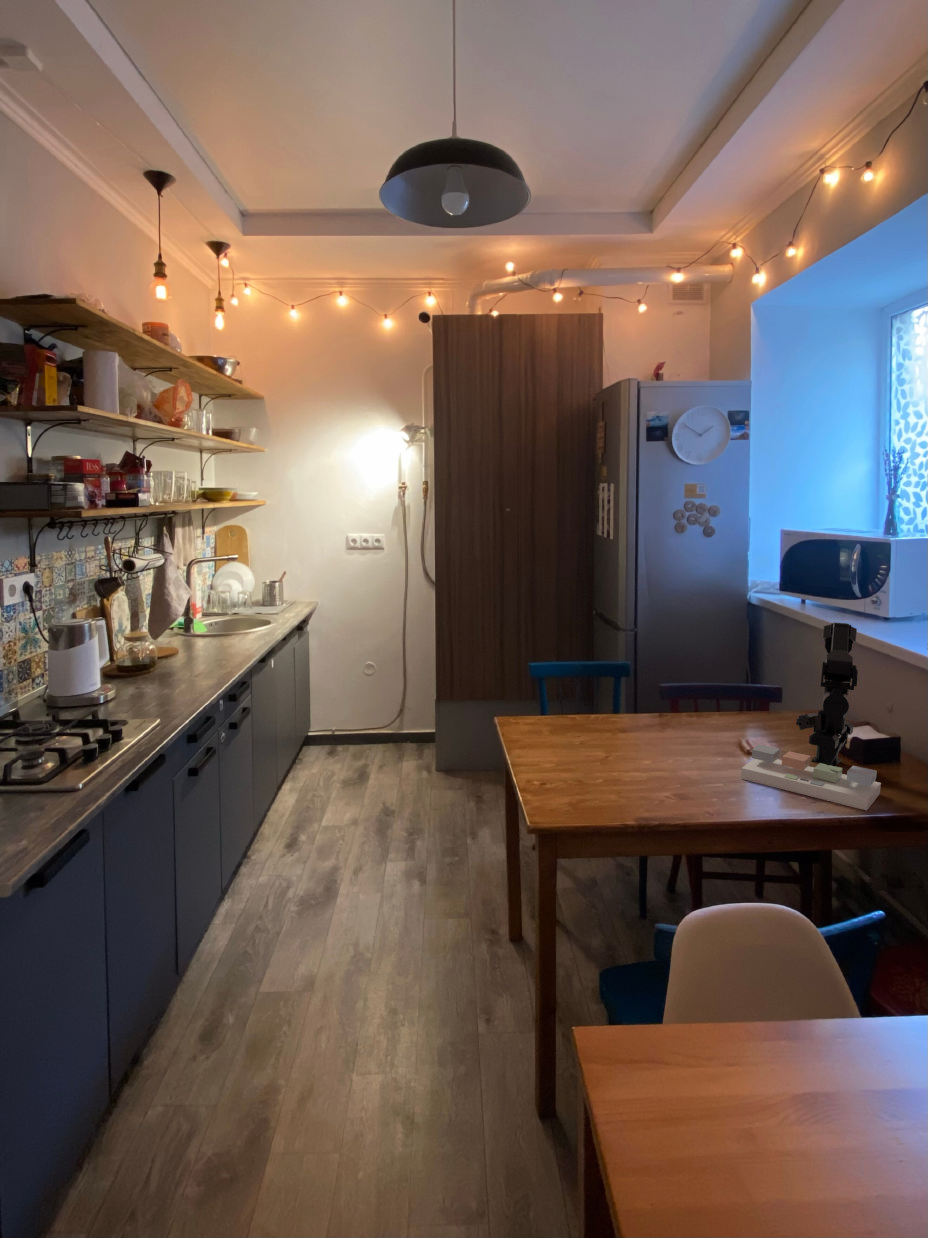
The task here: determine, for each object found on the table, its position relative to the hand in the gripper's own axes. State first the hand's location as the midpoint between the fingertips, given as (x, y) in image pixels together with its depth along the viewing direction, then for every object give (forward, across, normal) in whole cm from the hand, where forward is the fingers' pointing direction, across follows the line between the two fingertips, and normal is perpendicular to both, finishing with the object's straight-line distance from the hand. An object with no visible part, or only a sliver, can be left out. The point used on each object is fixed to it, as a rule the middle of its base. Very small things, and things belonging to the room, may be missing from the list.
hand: (828, 764), depth 201 cm
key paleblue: (+2, 0, +8) cm, 8 cm away
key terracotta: (+2, 0, -8) cm, 8 cm away
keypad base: (+7, +1, -4) cm, 8 cm away
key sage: (+3, 0, 0) cm, 3 cm away
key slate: (+2, 0, -16) cm, 16 cm away
